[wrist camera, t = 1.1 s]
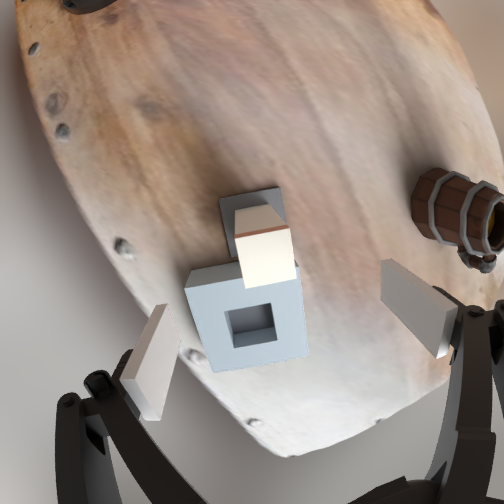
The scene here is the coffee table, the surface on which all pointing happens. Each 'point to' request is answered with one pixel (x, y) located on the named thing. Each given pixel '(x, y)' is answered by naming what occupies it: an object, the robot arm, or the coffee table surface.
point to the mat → (246, 201)
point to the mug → (461, 216)
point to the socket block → (246, 318)
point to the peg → (263, 246)
